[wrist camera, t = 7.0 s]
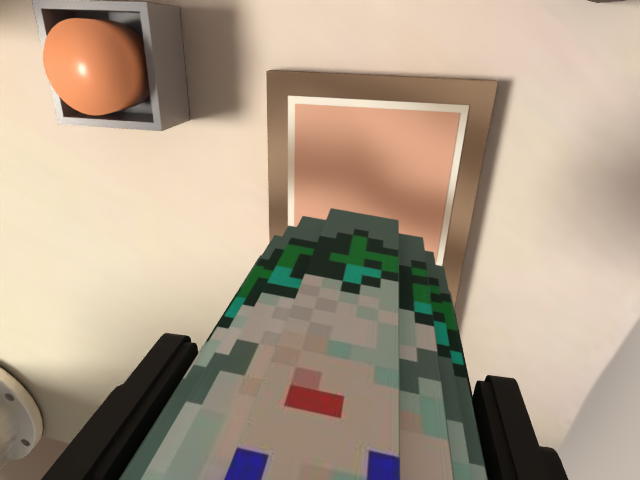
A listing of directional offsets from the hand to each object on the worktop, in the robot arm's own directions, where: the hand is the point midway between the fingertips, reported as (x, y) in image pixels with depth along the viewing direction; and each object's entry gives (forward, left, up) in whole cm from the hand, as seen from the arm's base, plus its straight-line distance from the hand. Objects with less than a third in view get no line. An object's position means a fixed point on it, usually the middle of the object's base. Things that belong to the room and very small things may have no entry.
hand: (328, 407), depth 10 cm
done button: (+6, +14, -16) cm, 22 cm away
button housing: (+6, +14, -18) cm, 23 cm away
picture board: (-3, 0, -18) cm, 18 cm away
